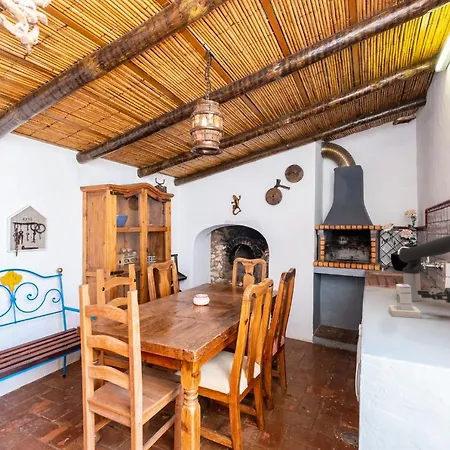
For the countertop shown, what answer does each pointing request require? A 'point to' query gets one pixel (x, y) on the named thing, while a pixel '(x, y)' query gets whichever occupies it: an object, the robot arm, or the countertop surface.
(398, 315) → the square stand
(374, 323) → the countertop surface
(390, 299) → the countertop surface
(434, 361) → the countertop surface
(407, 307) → the syrup box
